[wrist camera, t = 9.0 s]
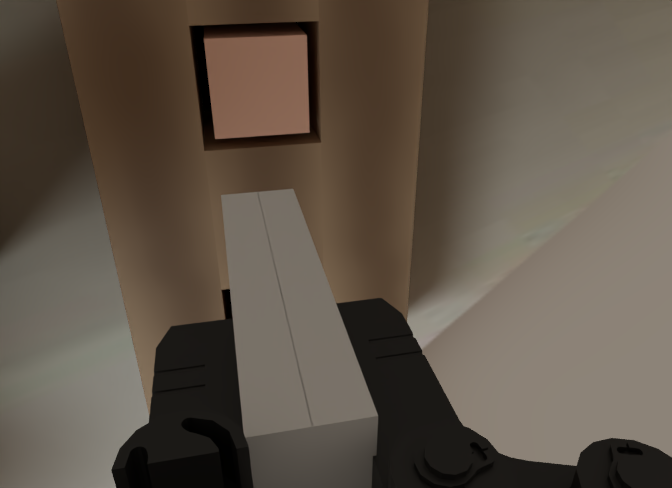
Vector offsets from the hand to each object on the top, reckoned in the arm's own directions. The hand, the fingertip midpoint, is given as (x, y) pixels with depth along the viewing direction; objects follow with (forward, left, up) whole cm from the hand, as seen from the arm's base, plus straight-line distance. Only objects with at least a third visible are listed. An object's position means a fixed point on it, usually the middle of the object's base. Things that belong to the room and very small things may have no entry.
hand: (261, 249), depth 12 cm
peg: (+1, 0, -19) cm, 19 cm away
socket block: (+1, -6, -19) cm, 20 cm away
